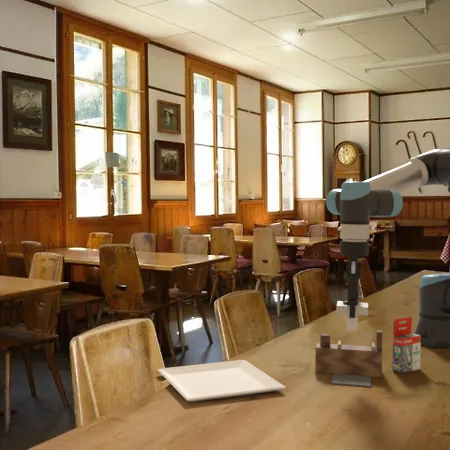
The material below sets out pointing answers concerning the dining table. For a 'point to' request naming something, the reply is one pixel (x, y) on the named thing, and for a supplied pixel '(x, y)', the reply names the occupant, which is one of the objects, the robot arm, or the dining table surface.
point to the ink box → (405, 347)
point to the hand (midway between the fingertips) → (352, 326)
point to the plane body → (349, 357)
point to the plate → (219, 380)
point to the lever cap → (343, 308)
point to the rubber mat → (351, 380)
